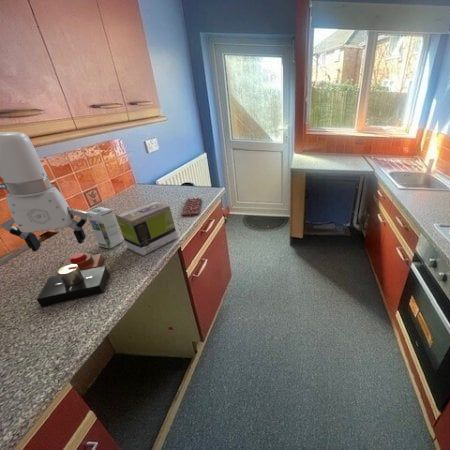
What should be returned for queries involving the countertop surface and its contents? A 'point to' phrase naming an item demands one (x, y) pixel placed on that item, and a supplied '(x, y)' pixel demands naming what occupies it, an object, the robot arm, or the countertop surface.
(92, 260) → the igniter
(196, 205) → the chocolate bar
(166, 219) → the tea box
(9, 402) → the countertop surface
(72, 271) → the hob knob
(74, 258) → the button
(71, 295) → the panel
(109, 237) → the syrup box
